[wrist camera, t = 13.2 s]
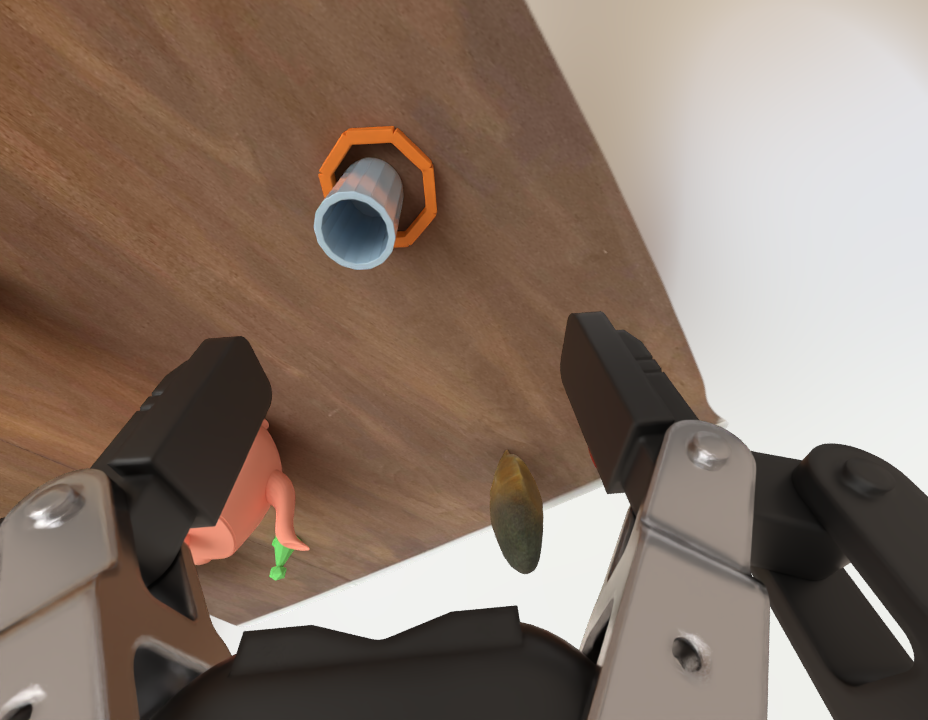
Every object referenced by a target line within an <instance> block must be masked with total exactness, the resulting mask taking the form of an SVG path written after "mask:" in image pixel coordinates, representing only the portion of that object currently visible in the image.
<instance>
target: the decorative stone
mask: <svg viewBox="0 0 928 720" xmlns="http://www.w3.org/2000/svg"><path fill="white" fill-rule="evenodd" d="M490 516H491V524H492V527H493V530H494V533H495V536H496V538H497V541H498V544H499V546H500V548H501V551H502V553H503V555H504V557H505V559H506V560H507V561H508V563H509V564H510V565H511V567H513V568H514V569H515V570H517V571H518V572H520V573H522V574H528V573H531V572H532V571H534V570H535V568H536V567H537V564H538V562H539V558H540V553H541V546H542V535H543V503H542V499H541V496H540V492H539V490H538V487H537V485H536V482H535V480H534V478H533V476H532V474H531V473H530V471H529V469H528V467H527V466H526V464H525V463H524V462H523V461H522V460H521V459H520V458H519V457H518V456H516V455H515V454H513V455H511V454H510V453H509V452H508V450H506V451H505V452H504V454H503V456H502V458H501V459H500V461H499V464H498V466H497V469H496V472H495V475H494V479H493V483H492V487H491V490H490Z"/></svg>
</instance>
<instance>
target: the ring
mask: <svg viewBox="0 0 928 720" xmlns="http://www.w3.org/2000/svg"><path fill="white" fill-rule="evenodd" d="M377 143H392V144H393V145H394V146H395V147H397V148H398V149H399V150H400V151H401V152H402V153H403V154H404V155H405V156H406V157H407V158H408V159H409V160H410V161H411V162H412V163H414V164H415V165H416V166H417V167H418V168H419V169H420V170H421V171H422V173H423V184H424V194H425V204H426V206H425V208H424V209H423V210H422V211H421V213H420V214H419V215H418V216H417V217H416V219H415V220H414V221H413V222H412V224H411V225H410V226H409V227H408V228H407V230H406V231H397V234H396V239H395V243H394V247H393V248H395V247H409V244H410V245H412V244H413V243H414V241H415V240H416V239H417V238H418V237H419V235H420V234H421V233H422V232H423V231H424V230H425V228H426V227H427V226H428V225H429V224H430V222H431V221H432V220H433V219H434V218H435V217H436V213H437V204H436V191H435V179H434V166H433V164H432V161H431V160H430V159H429V158H428V157H427V156H426V155H425V154H424V153H423V152H422V151H421V150H420V149H419V148H418V147H417V146H416V145H415V144H414V143H413V142H412V141H411V140H410V139H409V138H408V137H407V136H406V135H405V134H404V133H403V132H402V131H401V130H400V129H399V128H396V129H395V128H394V126H384V127H365V128H349V129H348V130H347V131H345V132H344V133H342V135H341V136H340V138H339V139H338V141H337V143H336V144H335V146H334V147H333V149H332V151H331V152H330V154H329V155H328V157H327V159H326V160H325V162H324V163H323V165H322V167H321V168H320V170H319V171H320V174H319V179H320V182H321V186H322V190H323V194H324V198H326V196H327V195H328V194H329V192H330V191H331V190H332V189H333V187H334V186H335V185H336V183H337V182H336V178H335V174H334V173H335V171H336V169H337V168H338V166H339V165H340V163H341V162H342V160H343V159H344V157H345V156H346V154H347V153H348V151H349V149H350V148H351V146H352V145H358V144H377Z"/></svg>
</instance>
